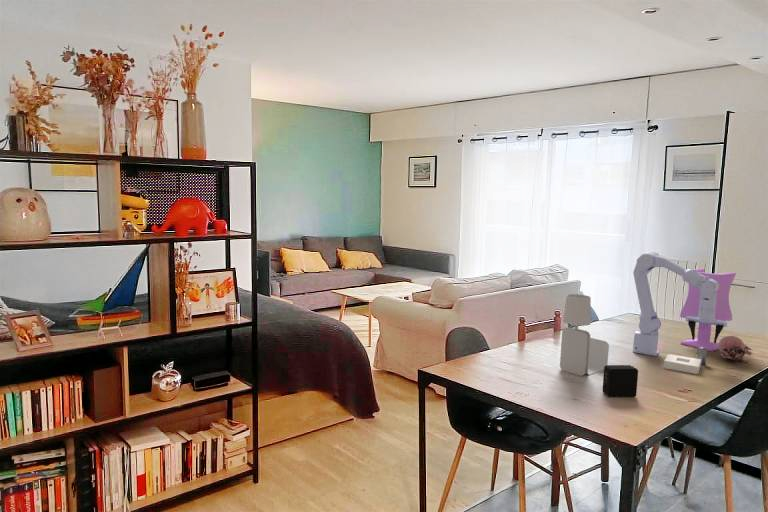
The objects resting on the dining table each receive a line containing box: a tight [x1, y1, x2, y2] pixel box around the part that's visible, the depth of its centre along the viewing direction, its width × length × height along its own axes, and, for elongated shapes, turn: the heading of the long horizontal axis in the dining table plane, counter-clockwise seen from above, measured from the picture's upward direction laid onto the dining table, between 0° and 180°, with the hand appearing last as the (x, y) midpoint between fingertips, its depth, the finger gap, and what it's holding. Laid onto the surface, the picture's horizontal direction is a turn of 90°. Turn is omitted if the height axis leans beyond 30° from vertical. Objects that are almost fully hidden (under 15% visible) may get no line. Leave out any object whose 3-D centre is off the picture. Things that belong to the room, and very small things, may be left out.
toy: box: [717, 335, 754, 363], centre depth 228 cm, size 12×11×15 cm
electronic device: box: [602, 364, 639, 398], centre depth 186 cm, size 4×10×10 cm, turn 95°
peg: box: [697, 347, 708, 366], centre depth 224 cm, size 3×3×7 cm
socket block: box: [663, 353, 702, 375], centre depth 219 cm, size 12×12×3 cm
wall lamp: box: [559, 293, 610, 377], centre depth 211 cm, size 10×21×30 cm, turn 131°
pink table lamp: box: [679, 268, 737, 352], centre depth 251 cm, size 16×16×35 cm
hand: (704, 341), depth 223 cm, fingers open, 7 cm apart
